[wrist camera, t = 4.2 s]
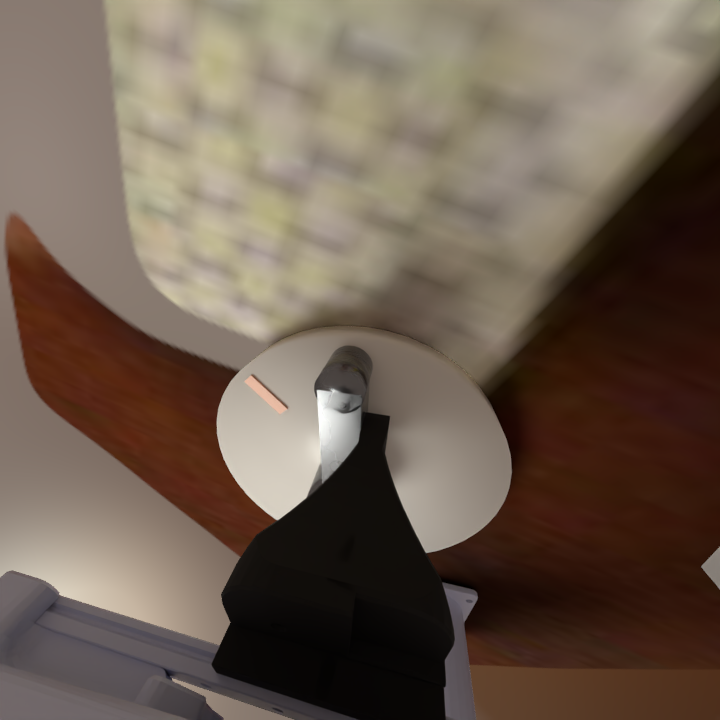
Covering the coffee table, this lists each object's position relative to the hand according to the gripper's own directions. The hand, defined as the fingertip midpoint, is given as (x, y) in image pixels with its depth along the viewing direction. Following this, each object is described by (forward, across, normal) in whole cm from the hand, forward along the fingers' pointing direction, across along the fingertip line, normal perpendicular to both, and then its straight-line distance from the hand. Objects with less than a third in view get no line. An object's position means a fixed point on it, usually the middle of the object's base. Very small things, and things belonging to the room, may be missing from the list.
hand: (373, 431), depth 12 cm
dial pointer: (0, +1, +1) cm, 2 cm away
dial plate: (+2, +1, +4) cm, 5 cm away
